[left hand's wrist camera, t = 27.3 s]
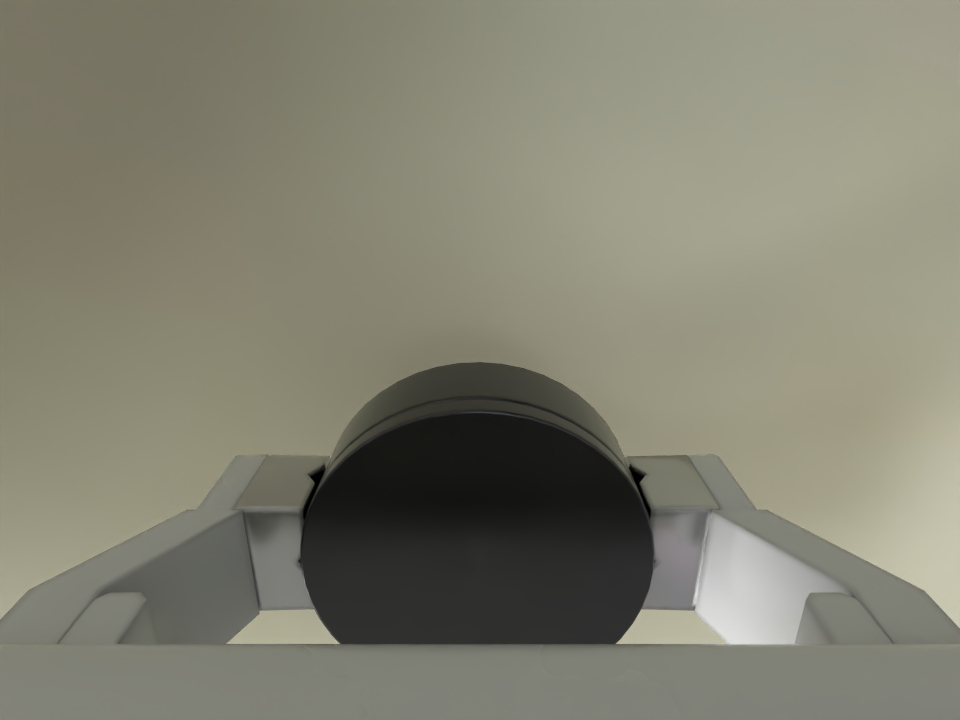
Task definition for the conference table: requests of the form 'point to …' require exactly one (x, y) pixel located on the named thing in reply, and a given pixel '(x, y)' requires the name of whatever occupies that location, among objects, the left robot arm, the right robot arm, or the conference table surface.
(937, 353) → the conference table surface
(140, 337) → the conference table surface
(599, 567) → the lid
